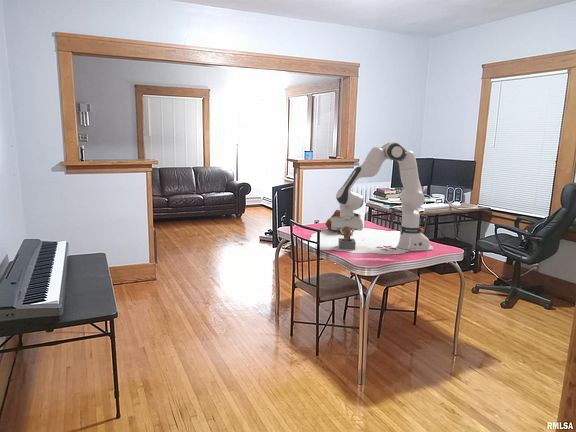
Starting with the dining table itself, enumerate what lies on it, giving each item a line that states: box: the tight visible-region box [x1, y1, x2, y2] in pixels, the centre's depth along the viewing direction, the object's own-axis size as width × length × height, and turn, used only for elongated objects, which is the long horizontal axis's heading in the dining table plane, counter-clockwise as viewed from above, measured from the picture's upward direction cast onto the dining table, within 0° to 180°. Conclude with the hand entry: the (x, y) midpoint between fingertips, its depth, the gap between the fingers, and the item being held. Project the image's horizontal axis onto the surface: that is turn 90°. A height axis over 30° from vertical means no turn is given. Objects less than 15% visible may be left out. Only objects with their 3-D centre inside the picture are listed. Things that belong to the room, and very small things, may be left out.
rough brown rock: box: [325, 209, 344, 234], centre depth 329 cm, size 23×17×15 cm
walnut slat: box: [343, 226, 352, 241], centre depth 274 cm, size 4×3×12 cm
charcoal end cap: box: [337, 237, 357, 251], centre depth 275 cm, size 10×9×5 cm
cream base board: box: [338, 245, 372, 252], centre depth 275 cm, size 20×11×2 cm, turn 87°
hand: (347, 235), depth 273 cm, fingers closed on walnut slat, 4 cm apart
